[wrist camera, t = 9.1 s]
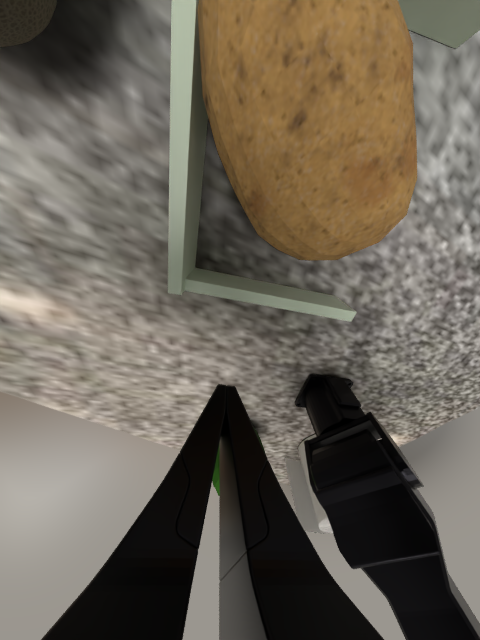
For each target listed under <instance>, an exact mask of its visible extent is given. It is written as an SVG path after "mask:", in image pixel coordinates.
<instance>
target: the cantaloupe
mask: <svg viewBox="0 0 480 640" xmlns="http://www.w3.org/2000/svg"><path fill="white" fill-rule="evenodd" d="M56 4H57V0H0V47H6V46H13V45H19V44H23V43H26V42H29V41H30V40H32V39H33V38H34V37H36V36H37V35H38V34H40V33H41V32H42V31H43V30H44V29H45V28H46V27H47V25H48V24H49V22H50V21H51V18H52V15H53V13H54V10H55V7H56Z"/></svg>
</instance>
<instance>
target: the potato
mask: <svg viewBox="0 0 480 640" xmlns="http://www.w3.org/2000/svg"><path fill="white" fill-rule="evenodd" d="M198 27H199V44H200V61H201V78H202V96H203V100H204V103H205V107H206V111H207V115H208V118H209V122H210V126H211V130H212V133H213V137H214V141H215V144H216V148H217V151H218V155H219V157H220V159H221V162H222V164H223V166H224V169H225V171H226V173H227V176H228V178H229V181H230V183H231V185H232V188H233V190H234V192H235V193H236V195H237V197H238V199H239V201H240V203H241V205H242V207H243V209H244V211H245V213H246V214H247V216H248V218H249V220H250V222H251V223H252V225H253V227H254V229H255V230H256V232H257V234H258V235H259V236H260V237H261V238H263V239H264V240H265V241H267V242H268V243H269V244H271V245H272V246H273V247H275V248H276V249H277V250H279V251H281V252H284V253H286V254H288V255H290V256H292V257H295V258H297V259H299V260H338V259H340V258H342V257H345V256H347V255H349V254H351V253H354V252H356V251H359V250H361V249H364V248H366V247H368V246H371V245H373V244H376V243H378V242H380V241H381V240H382V239H383V238H384V237H385V236H386V235H387V234H388V233H389V232H390V231H391V230H392V229H393V228H394V227H395V226H396V225H397V224H398V223H399V222H400V221H401V220H402V219H403V218H404V217H405V216H406V215H407V211H408V208H409V204H410V201H411V197H412V194H413V190H414V187H415V183H416V180H417V143H416V126H415V113H414V99H413V43H412V40H411V37H410V34H409V31H408V28H407V25H406V22H405V20H404V17H403V14H402V11H401V8H400V5H399V2H398V0H199V4H198Z"/></svg>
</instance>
